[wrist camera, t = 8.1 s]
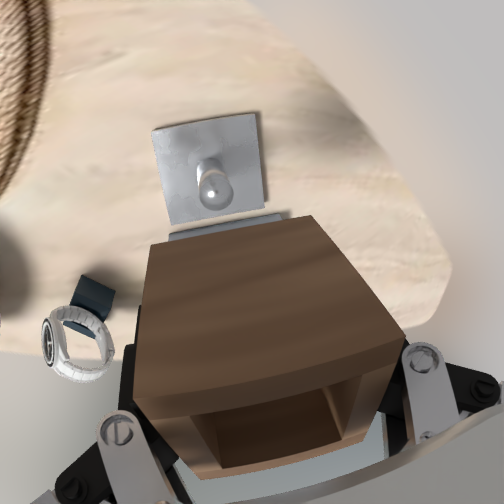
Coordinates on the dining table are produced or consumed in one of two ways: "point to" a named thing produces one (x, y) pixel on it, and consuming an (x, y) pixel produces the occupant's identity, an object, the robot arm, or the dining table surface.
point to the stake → (209, 167)
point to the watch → (80, 330)
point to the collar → (260, 348)
